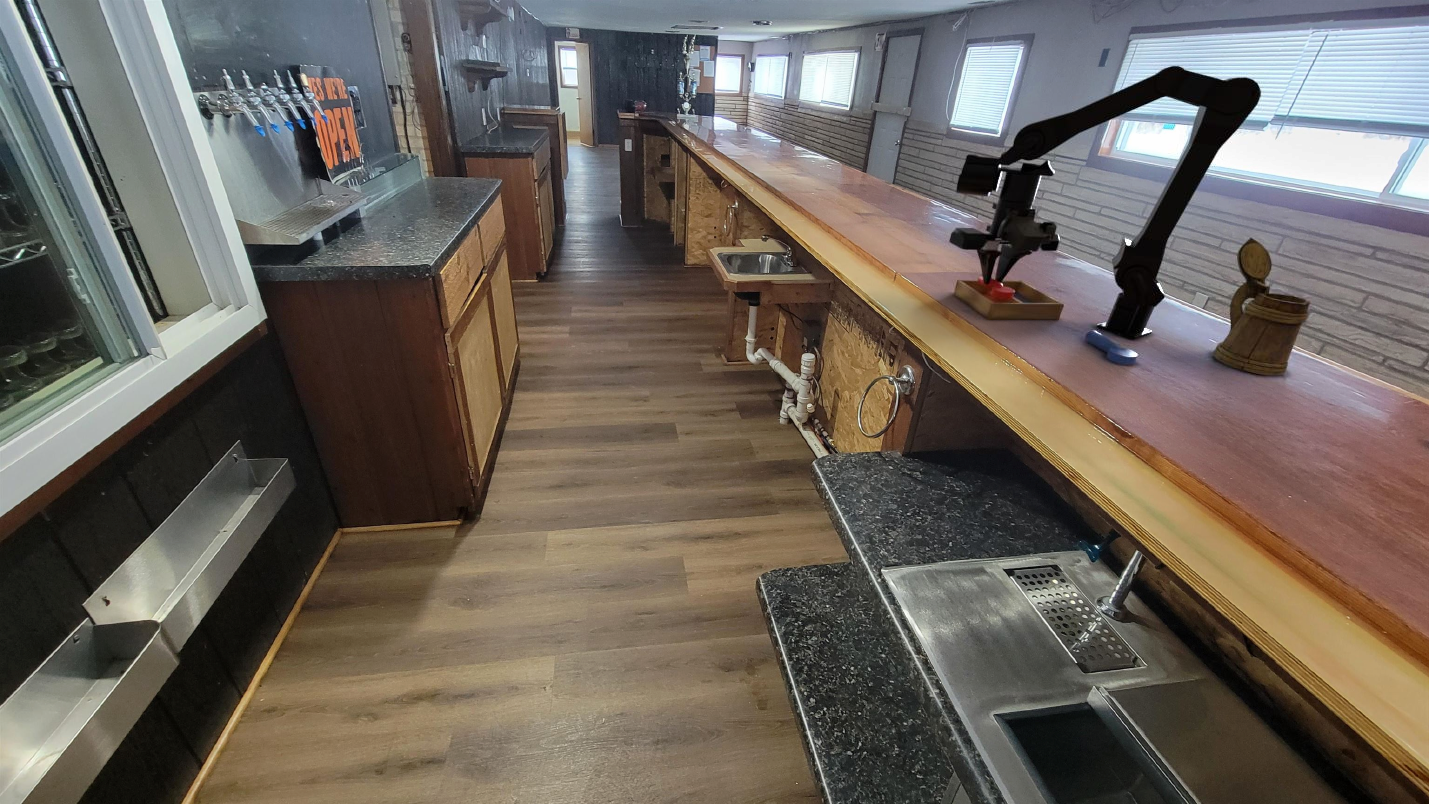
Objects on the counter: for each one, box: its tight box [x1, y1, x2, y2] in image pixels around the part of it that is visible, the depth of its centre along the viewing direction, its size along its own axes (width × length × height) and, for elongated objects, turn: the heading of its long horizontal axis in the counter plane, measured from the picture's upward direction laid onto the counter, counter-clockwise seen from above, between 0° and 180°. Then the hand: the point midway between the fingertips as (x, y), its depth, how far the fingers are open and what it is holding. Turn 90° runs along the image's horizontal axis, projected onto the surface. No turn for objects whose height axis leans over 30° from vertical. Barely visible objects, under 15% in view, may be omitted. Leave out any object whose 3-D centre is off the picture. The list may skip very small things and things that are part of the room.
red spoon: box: [977, 274, 1015, 300], centre depth 108 cm, size 10×4×2 cm, turn 6°
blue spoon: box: [1084, 329, 1138, 366], centre depth 92 cm, size 10×4×2 cm, turn 6°
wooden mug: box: [1212, 237, 1311, 376], centre depth 88 cm, size 9×14×18 cm, turn 10°
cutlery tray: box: [953, 279, 1065, 320], centre depth 110 cm, size 14×14×3 cm
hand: (991, 284), depth 109 cm, fingers closed on red spoon, 2 cm apart
